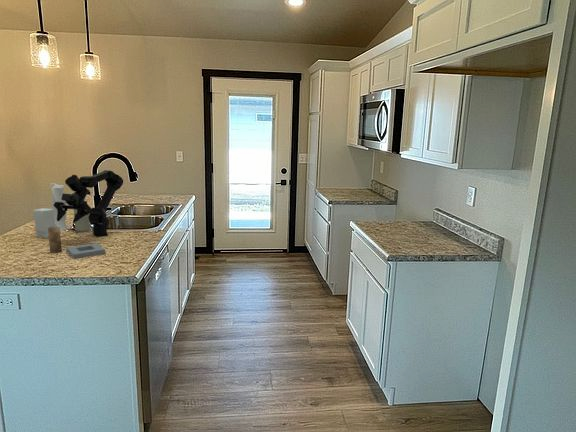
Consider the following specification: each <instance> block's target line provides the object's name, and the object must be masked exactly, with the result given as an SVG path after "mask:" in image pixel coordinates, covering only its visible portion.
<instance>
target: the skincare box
mask: <svg viewBox="0 0 576 432" xmlns="http://www.w3.org/2000/svg"><path fill="white" fill-rule="evenodd" d="M32 212H33V220H34V227H35V234H36V238H40V239H49V234H48V228H50V227H56V225H55V224H56V222H55V217H54V209H52V208H44V207H41V208H37V209H33V210H32Z"/></svg>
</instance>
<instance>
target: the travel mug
mask: <svg viewBox="0 0 576 432" xmlns="http://www.w3.org/2000/svg"><path fill="white" fill-rule="evenodd" d="M84 201H85V203H82V204H88V199H84ZM76 213H77V210H74V209H73V218H74V217H75V215H76ZM88 217H89V214H88V215H86V216H84V217H82V218H81V219H79V220H78V221H76V222H75V223H74V230H75V232H79V231H80V232H82V231H83V232H88V231H90V230H91V224H90V221H89V218H88Z"/></svg>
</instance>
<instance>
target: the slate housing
mask: <svg viewBox="0 0 576 432" xmlns="http://www.w3.org/2000/svg"><path fill="white" fill-rule="evenodd" d="M65 250H66V253H67V254H68V255H69V256H70V257H71V258H72V259H73V260H75V259H80V258H88V257H93V256H94V257H95V256H101V255H105V254H106V249H105V248H103V247H102V246H101V245H99V244H98V243H95V242H94V243H87V244H81V245H74V246H67V247H66V248H65Z"/></svg>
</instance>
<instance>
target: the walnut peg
mask: <svg viewBox="0 0 576 432" xmlns="http://www.w3.org/2000/svg"><path fill="white" fill-rule="evenodd" d="M48 234H49V238H48V243H49V245H48V246H49V253H51V254H59V253H62V251H63V250H62V238H61V237H62V236H61V231H60V227H50V228H48Z"/></svg>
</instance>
